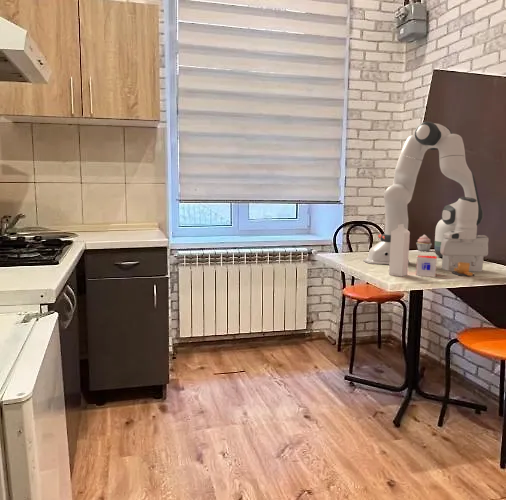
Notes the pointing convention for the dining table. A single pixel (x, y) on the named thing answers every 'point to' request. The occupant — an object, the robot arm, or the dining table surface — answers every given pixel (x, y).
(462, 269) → the cap
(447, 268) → the white rectangular block
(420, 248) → the cupcake
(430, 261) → the white printed cube
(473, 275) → the mat
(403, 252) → the milk
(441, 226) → the vase
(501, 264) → the dining table surface
